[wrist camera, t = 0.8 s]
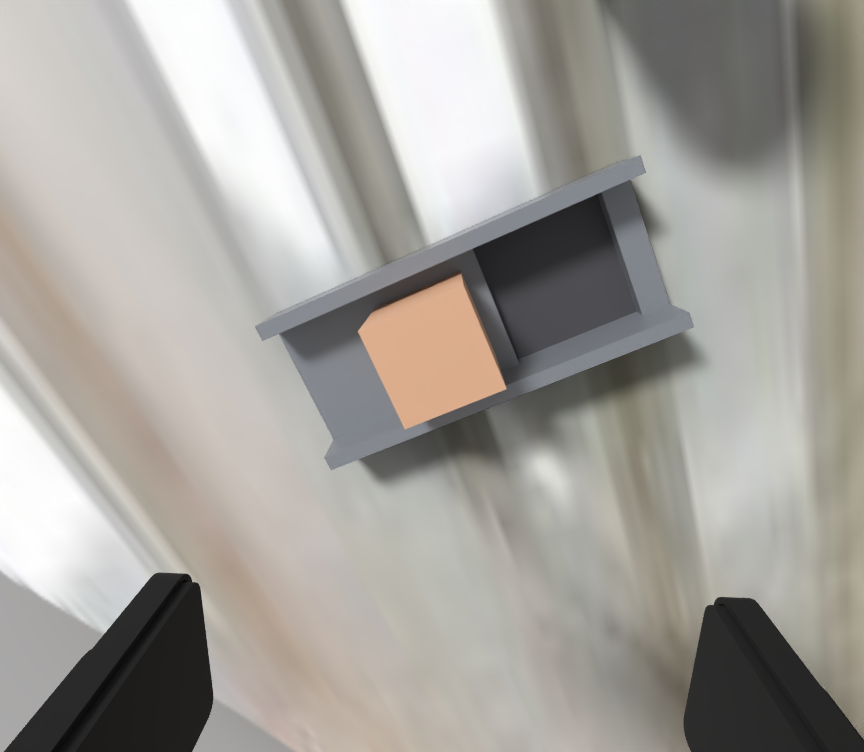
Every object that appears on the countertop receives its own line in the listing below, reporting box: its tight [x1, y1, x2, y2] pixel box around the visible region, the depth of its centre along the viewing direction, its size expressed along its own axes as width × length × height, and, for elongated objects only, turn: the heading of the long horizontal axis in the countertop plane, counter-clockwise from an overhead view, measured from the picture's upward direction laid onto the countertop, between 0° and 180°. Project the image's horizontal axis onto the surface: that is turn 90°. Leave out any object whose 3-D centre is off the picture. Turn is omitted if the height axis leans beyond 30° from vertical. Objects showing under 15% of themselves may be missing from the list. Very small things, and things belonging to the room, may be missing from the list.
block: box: [358, 271, 507, 429], centre depth 27 cm, size 5×5×6 cm
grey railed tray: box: [255, 155, 694, 470], centre depth 29 cm, size 20×9×4 cm, turn 113°
